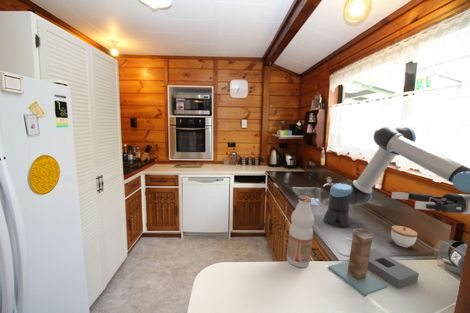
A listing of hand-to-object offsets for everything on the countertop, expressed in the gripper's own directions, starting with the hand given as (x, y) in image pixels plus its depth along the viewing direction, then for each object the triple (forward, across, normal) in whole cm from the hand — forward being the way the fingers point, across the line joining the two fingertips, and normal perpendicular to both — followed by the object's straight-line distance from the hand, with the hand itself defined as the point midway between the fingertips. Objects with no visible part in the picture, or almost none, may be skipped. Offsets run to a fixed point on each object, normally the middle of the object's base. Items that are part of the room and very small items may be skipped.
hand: (403, 199), depth 90 cm
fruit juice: (+39, 0, -30) cm, 49 cm away
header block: (+5, -1, -30) cm, 30 cm away
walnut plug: (+18, -7, -29) cm, 35 cm away
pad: (+18, -7, -30) cm, 36 cm away
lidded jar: (-19, +24, -30) cm, 43 cm away
